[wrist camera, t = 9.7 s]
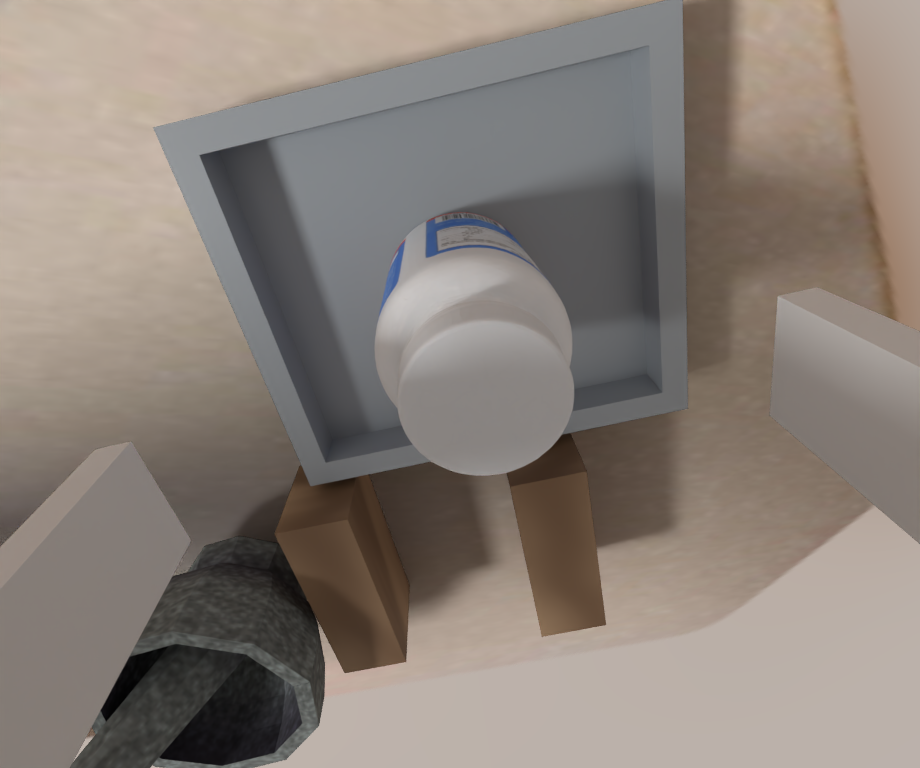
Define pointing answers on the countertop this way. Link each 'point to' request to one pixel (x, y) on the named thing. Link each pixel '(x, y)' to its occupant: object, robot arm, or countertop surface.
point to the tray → (448, 191)
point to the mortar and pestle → (217, 669)
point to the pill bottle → (474, 347)
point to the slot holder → (382, 575)
